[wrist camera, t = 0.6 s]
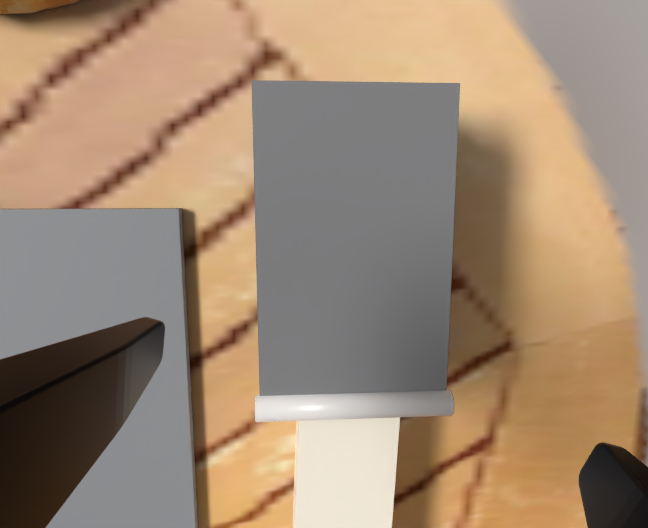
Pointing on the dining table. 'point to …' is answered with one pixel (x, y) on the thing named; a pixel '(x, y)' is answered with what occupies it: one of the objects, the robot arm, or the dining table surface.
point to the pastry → (31, 5)
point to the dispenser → (354, 247)
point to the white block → (345, 473)
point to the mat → (99, 313)
